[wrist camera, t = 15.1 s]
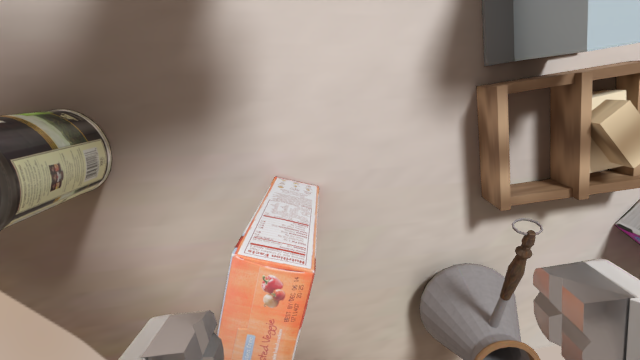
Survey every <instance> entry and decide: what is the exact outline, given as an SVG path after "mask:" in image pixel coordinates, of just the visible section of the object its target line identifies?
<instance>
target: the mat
mask: <svg viewBox="0 0 640 360" xmlns="http://www.w3.org/2000/svg"><path fill="white" fill-rule="evenodd" d="M482 15H483V39H484V62H485V66H489V65H495V64H501V63H507V62H513V61H515V57H514V13H513V0H482Z"/></svg>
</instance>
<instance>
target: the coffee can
mask: <svg viewBox="0 0 640 360" xmlns="http://www.w3.org/2000/svg"><path fill="white" fill-rule="evenodd" d="M111 162H112V156H111V150H110V146H109V143H108V141H107V138H106V137H105V135H104V134H103V132H102V131H101V129H100V128H99V127H98V126H97V125H96V124H95V123H94V122H93V121H92V120H90V119H89V118H87V117H86V116H84V115H82V114H80V113H78V112H75V111H71V110H64V109H58V110H51V111H45V112H34V113H24V114H14V115H3V116H0V231H1V230H2V229H4V228H6V227H8V226H11V225H13V224H15V223H17V222H20V221H22V220H24V219H26V218H29V217H31V216H33V215H36V214H38V213H40V212H42V211H45V210H47V209H49V208H51V207H54V206H56V205H58V204H60V203H62V202H65V201H67V200H69V199H71V198H74V197H76V196H78V195H80V194H83V193H85V192H89V191H92V190H93V189H95V188H97V187H98V186H100V185H101V184H102V183H103V182H104V181H105V179H106V178H107V176H108V174H109V172H110V168H111Z"/></svg>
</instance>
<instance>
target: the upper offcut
mask: <svg viewBox="0 0 640 360" xmlns="http://www.w3.org/2000/svg"><path fill="white" fill-rule="evenodd" d="M591 137H592V139H593V140H594V141H595V143H596V144H597V145H598V147H599V148H600V149H601V150H602V152H603V153H604V154H605V156H606V157H607V158H608V159H609V161H610V162H611V163H615V164H619V165H623V166H627V167H630V168H635V167H636V166H638V165H639V164H640V114H639V112H638V111H637V109H636V108H635V107H634V105H633V104H632V103H631V101H630V100H608V99H606V100H605V101H603V102H602V103H601V104H600V105H598V106H597V107H596V108H595V109H593V110H592V115H591Z"/></svg>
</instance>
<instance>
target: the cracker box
mask: <svg viewBox="0 0 640 360" xmlns="http://www.w3.org/2000/svg"><path fill="white" fill-rule="evenodd" d="M318 200H319V187H318V186H314V185H310V184H306V183H302V182H297V181H293V180H288V179H284V178H279V177H274V179H273V181H272V183H271V185H270V186H269V188H268V190H267V192H266V194H265V196H264V197H263V199H262V201H261V203H260V204H259V206H258V208H257V210H256V211H255V213H254V215H253V217H252V219H251V220H250V222H249V224H248V226H247V227H246V229H245V231H244V232H243V234H242V236H241V238H240V239H239V241H238V243H237V245H236V246H235V248H234V250H233V252H232V255H231V260H230V266H229V272H228V277H227V283H226V288H225V294H224V299H223V305H222V310H221V316H220V321H219V327H218V333H217V336H218V337H219V338H221V340H222V344H223V349H224V360H293V359H294V355H295V351H296V347H297V343H298V339H299V335H300V331H301V327H302V323H303V319H304V315H305V311H306V307H307V303H308V299H309V295H310V291H311V287H312V283H313V279H314V274H315V261H316V237H317V219H318Z"/></svg>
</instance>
